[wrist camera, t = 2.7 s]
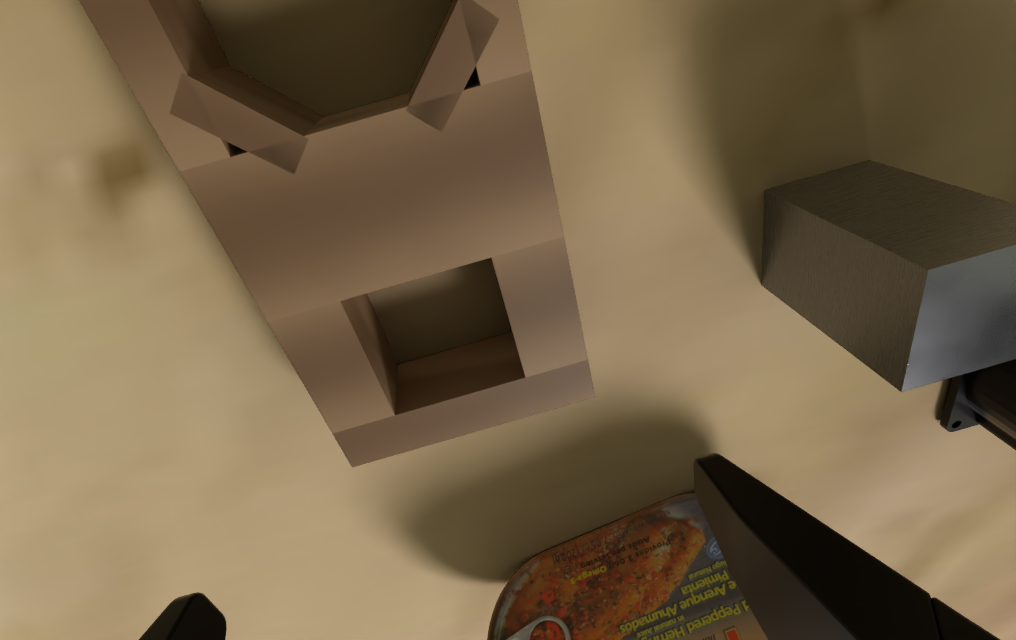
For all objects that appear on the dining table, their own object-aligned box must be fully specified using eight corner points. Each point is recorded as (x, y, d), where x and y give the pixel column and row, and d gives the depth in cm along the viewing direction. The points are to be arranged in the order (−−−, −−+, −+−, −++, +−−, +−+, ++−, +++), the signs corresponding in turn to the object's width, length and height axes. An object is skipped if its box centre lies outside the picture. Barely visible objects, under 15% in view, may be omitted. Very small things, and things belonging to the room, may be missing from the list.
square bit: (856, 257, 21) (1035, 353, 15) (761, 285, 21) (901, 392, 15) (869, 160, 19) (1084, 224, 13) (763, 190, 19) (928, 269, 13)
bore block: (573, 350, 21) (595, 396, 18) (360, 412, 21) (352, 467, 18) (438, -287, 11) (443, -376, 9) (49, -177, 11) (-59, -236, 9)
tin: (739, 467, 26) (861, 636, 19) (749, 502, 28) (864, 670, 21) (475, 577, 27) (495, 774, 20) (499, 604, 29) (525, 796, 22)
